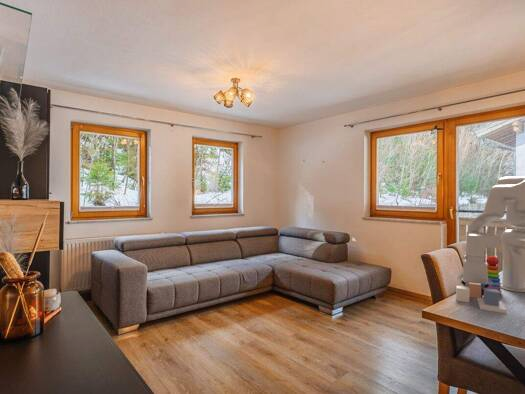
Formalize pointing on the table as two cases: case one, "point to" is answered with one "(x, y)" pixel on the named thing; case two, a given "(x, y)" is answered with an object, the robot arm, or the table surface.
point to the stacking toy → (493, 273)
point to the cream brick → (462, 293)
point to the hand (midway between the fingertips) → (474, 295)
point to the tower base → (490, 307)
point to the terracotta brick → (475, 290)
